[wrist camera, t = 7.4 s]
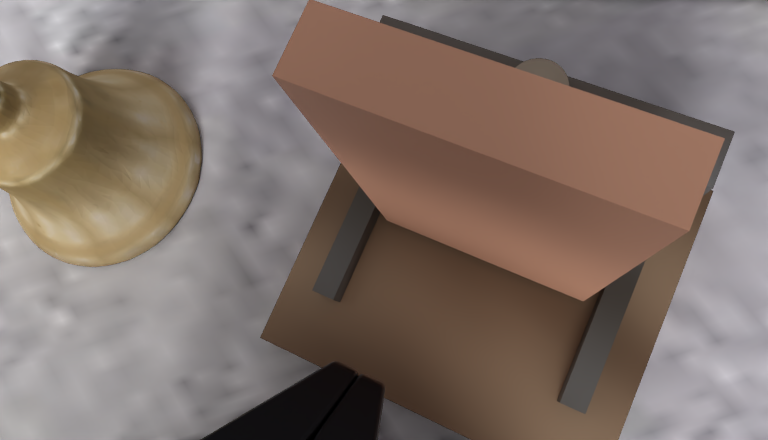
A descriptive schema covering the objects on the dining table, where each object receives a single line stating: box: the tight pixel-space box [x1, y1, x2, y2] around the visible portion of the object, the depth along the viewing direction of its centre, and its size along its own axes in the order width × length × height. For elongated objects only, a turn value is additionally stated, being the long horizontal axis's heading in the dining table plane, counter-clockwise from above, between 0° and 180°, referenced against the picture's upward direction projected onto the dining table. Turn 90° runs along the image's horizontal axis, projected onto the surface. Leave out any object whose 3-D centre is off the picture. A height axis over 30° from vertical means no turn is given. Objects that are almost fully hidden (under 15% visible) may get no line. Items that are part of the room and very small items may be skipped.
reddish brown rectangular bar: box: [272, 0, 725, 301], centre depth 16 cm, size 2×7×12 cm, turn 66°
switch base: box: [260, 15, 734, 440], centre depth 20 cm, size 10×12×7 cm
